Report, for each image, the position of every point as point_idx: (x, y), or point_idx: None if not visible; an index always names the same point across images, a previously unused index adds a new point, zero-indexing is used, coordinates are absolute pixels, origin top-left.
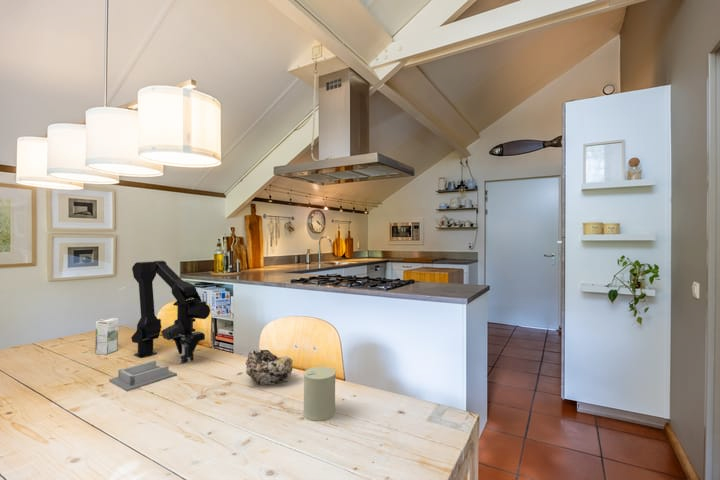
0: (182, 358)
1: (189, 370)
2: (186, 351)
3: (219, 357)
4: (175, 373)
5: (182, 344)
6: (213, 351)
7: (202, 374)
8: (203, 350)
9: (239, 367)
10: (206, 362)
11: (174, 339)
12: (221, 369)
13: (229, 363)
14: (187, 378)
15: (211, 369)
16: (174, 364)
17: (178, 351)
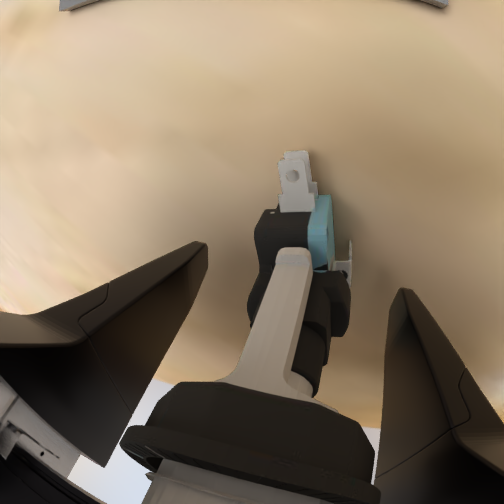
0: (283, 219)
1: (84, 114)
2: (256, 313)
3: (177, 354)
4: (68, 3)
5: (214, 382)
6: None
7: (6, 132)
8: (377, 413)
9: (16, 267)
10: None
11: (492, 481)
12: (19, 224)
13: (66, 295)
14: (7, 50)
15: (34, 202)
16: (349, 137)
17: (423, 310)
